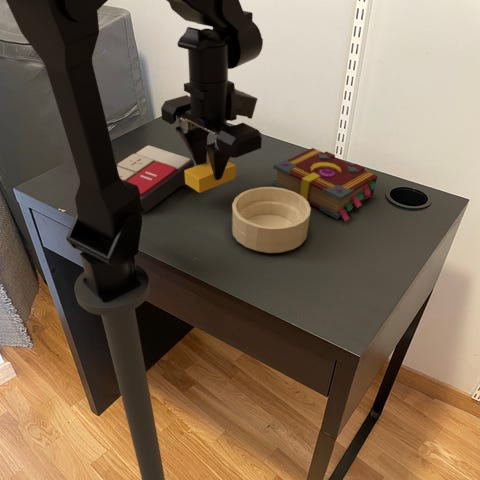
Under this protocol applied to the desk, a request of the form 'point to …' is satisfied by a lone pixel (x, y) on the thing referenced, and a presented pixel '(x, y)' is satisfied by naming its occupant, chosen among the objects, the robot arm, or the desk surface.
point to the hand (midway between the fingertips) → (210, 174)
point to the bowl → (270, 219)
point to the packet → (207, 176)
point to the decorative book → (325, 181)
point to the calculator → (154, 173)
